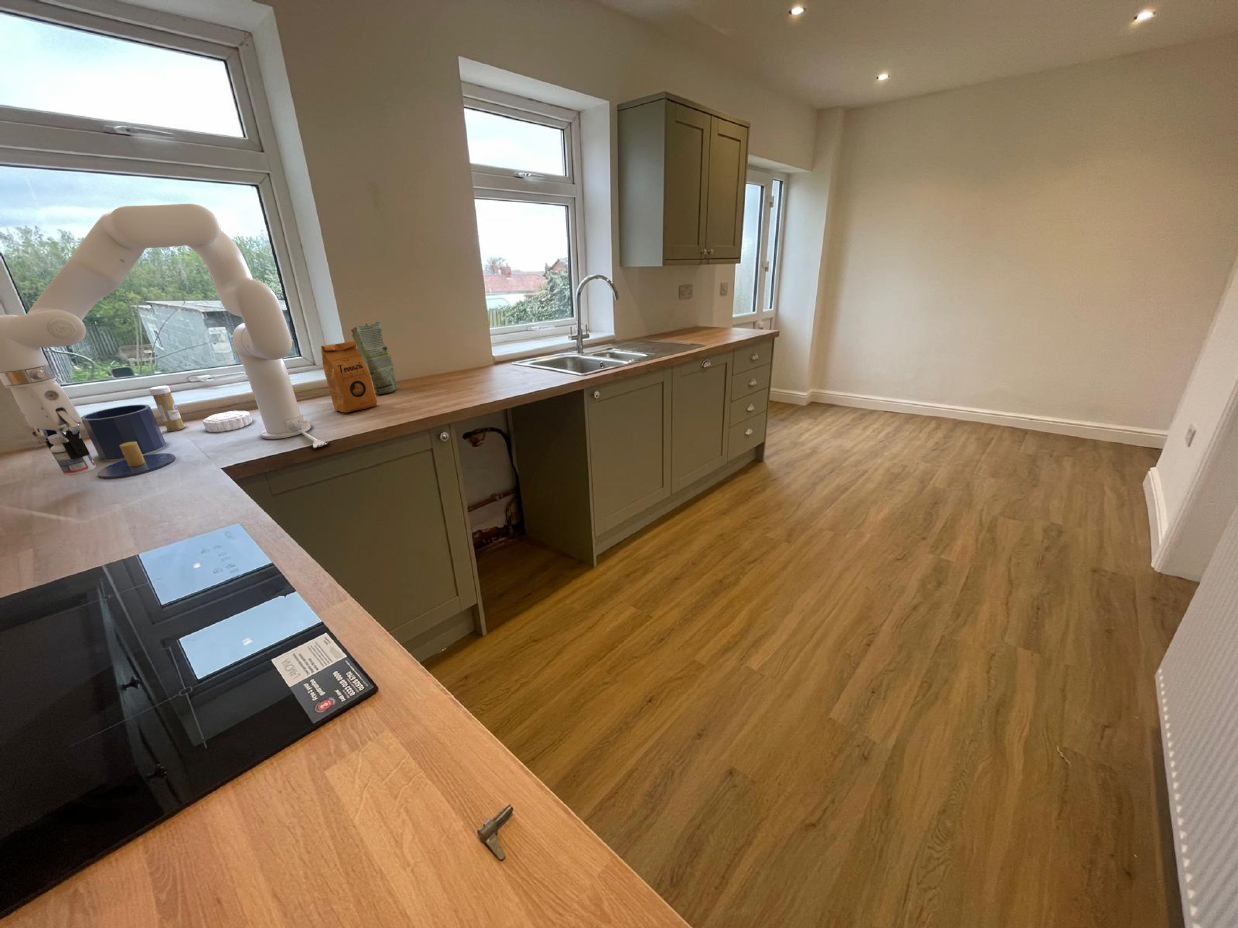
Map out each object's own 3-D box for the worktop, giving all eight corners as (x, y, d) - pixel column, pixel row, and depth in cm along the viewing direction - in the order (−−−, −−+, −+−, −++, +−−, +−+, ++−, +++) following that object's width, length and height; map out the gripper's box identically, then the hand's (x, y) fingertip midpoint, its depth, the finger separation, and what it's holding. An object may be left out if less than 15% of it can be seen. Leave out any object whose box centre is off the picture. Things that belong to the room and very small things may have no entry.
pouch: (367, 397, 181) (349, 326, 171) (366, 390, 191) (349, 323, 181) (400, 392, 186) (384, 323, 176) (397, 386, 195) (382, 320, 185)
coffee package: (382, 406, 168) (366, 340, 160) (343, 416, 160) (324, 347, 152) (369, 402, 175) (353, 338, 166) (332, 411, 167) (313, 344, 158)
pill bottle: (79, 467, 116) (59, 431, 112) (102, 465, 116) (83, 429, 113) (57, 477, 111) (36, 439, 107) (82, 474, 111) (61, 437, 108)
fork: (309, 432, 147) (307, 426, 146) (331, 447, 134) (329, 441, 133) (296, 435, 145) (294, 429, 144) (318, 451, 132) (316, 445, 131)
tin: (177, 444, 141) (161, 405, 137) (121, 463, 130) (101, 421, 125) (146, 441, 146) (129, 403, 141) (88, 459, 134) (67, 418, 129)
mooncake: (197, 430, 153) (192, 419, 152) (236, 418, 163) (233, 408, 162) (222, 434, 149) (217, 422, 147) (261, 421, 159) (257, 410, 158)
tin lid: (190, 459, 130) (180, 435, 127) (124, 483, 117) (111, 457, 115) (152, 455, 134) (142, 431, 132) (85, 477, 122) (72, 452, 119)
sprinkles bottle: (184, 429, 155) (167, 387, 149) (165, 432, 153) (147, 389, 147) (186, 425, 158) (169, 384, 153) (168, 429, 156) (150, 386, 151)
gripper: (75, 373, 105) (116, 452, 113) (27, 371, 110) (70, 447, 118) (28, 382, 99) (75, 466, 106) (-20, 380, 104) (28, 460, 112)
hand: (72, 455), depth 112 cm, fingers closed on pill bottle, 5 cm apart
